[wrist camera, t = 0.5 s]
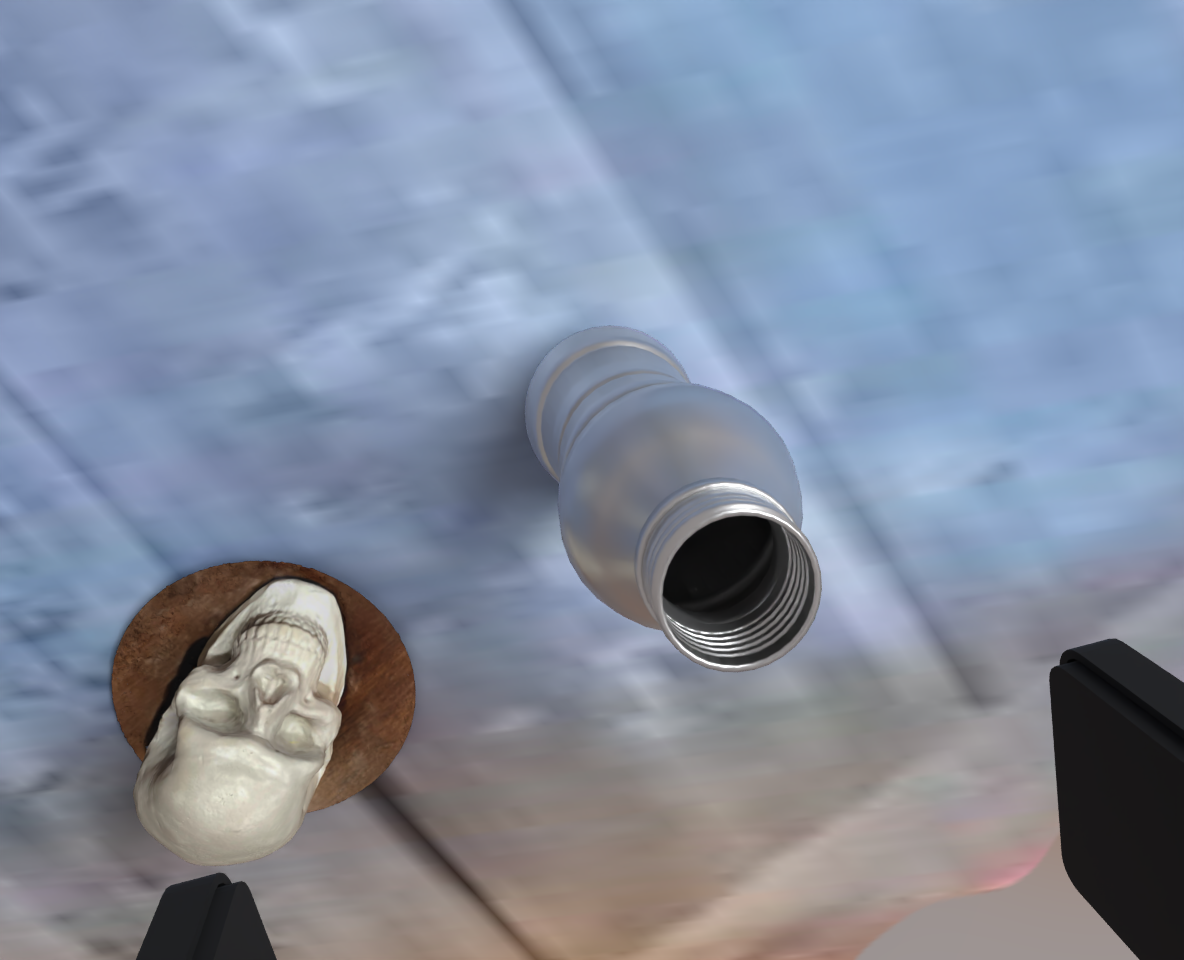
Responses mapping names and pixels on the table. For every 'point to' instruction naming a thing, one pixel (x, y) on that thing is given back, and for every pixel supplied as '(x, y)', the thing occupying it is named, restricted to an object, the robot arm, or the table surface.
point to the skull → (256, 705)
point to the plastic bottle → (674, 499)
